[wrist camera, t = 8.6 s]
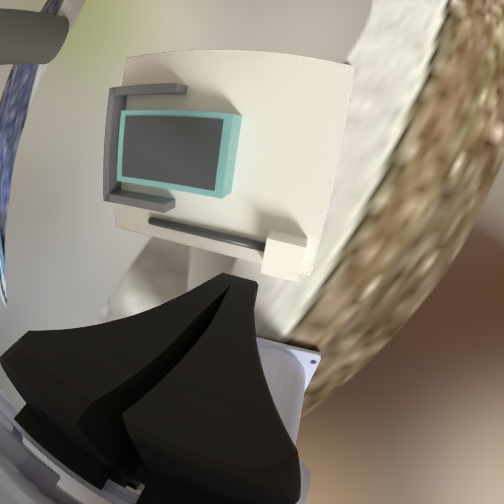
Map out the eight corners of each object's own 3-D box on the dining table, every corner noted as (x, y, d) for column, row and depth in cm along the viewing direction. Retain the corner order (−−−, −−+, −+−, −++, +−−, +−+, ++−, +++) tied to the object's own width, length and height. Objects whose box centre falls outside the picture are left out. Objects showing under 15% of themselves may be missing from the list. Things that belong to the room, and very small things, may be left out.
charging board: (354, 68, 13) (358, 59, 11) (310, 271, 19) (309, 287, 17) (131, 58, 15) (113, 54, 13) (120, 224, 21) (103, 233, 19)
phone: (242, 116, 15) (232, 113, 13) (231, 192, 17) (221, 199, 16) (136, 111, 16) (120, 110, 15) (132, 176, 19) (116, 181, 17)
